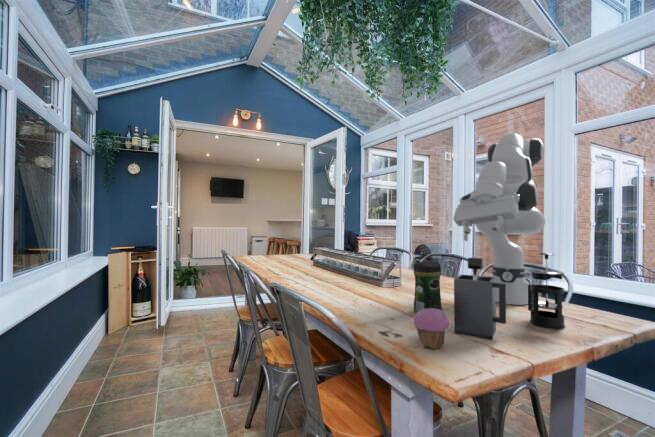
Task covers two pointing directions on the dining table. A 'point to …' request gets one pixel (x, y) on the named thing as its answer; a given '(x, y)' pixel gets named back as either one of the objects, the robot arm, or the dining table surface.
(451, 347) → the dining table surface
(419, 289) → the coffee jar
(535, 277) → the french press
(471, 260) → the plunger
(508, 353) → the dining table surface
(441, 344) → the cupcake
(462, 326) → the press pot
